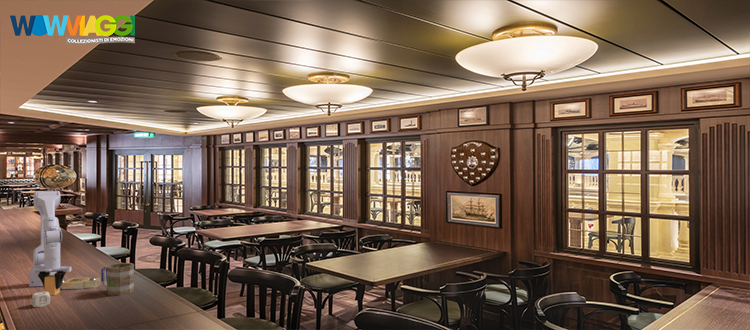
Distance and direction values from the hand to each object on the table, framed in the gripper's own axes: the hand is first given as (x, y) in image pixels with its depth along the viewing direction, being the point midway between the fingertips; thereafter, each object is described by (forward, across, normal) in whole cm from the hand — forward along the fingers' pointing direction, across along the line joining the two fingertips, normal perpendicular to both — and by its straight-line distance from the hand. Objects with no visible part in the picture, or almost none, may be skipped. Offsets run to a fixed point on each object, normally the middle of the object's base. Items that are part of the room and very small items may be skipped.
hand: (52, 288), depth 193 cm
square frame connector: (+2, +5, +11) cm, 12 cm away
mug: (+3, +26, 0) cm, 26 cm away
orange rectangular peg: (+2, 0, 0) cm, 2 cm away
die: (+3, +4, -16) cm, 17 cm away
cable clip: (+3, +14, +26) cm, 29 cm away
